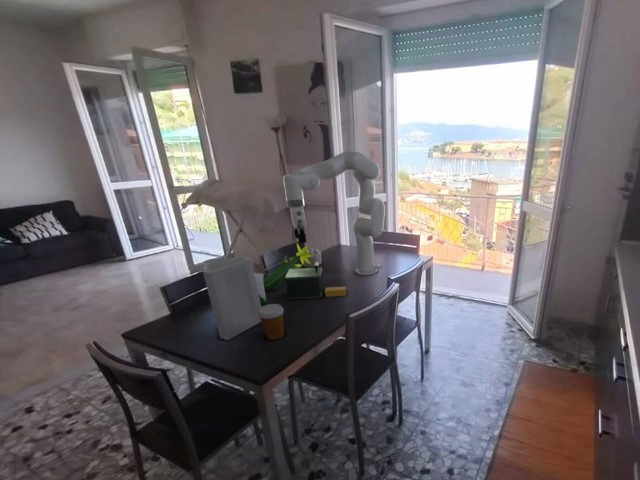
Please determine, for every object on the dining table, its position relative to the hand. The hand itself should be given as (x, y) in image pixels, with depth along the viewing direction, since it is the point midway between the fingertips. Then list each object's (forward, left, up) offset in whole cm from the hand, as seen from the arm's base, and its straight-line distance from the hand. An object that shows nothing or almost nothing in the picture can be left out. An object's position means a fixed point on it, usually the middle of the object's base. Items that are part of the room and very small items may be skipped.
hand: (300, 240), depth 167 cm
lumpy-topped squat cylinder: (+3, -50, -28) cm, 57 cm away
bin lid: (0, -1, -17) cm, 17 cm away
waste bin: (+1, -1, -28) cm, 28 cm away
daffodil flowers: (+13, -20, -28) cm, 37 cm away
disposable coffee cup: (+8, +40, -28) cm, 50 cm away
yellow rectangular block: (-14, +2, -28) cm, 31 cm away
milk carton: (+20, +18, -28) cm, 39 cm away
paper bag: (+27, +29, -28) cm, 49 cm away
